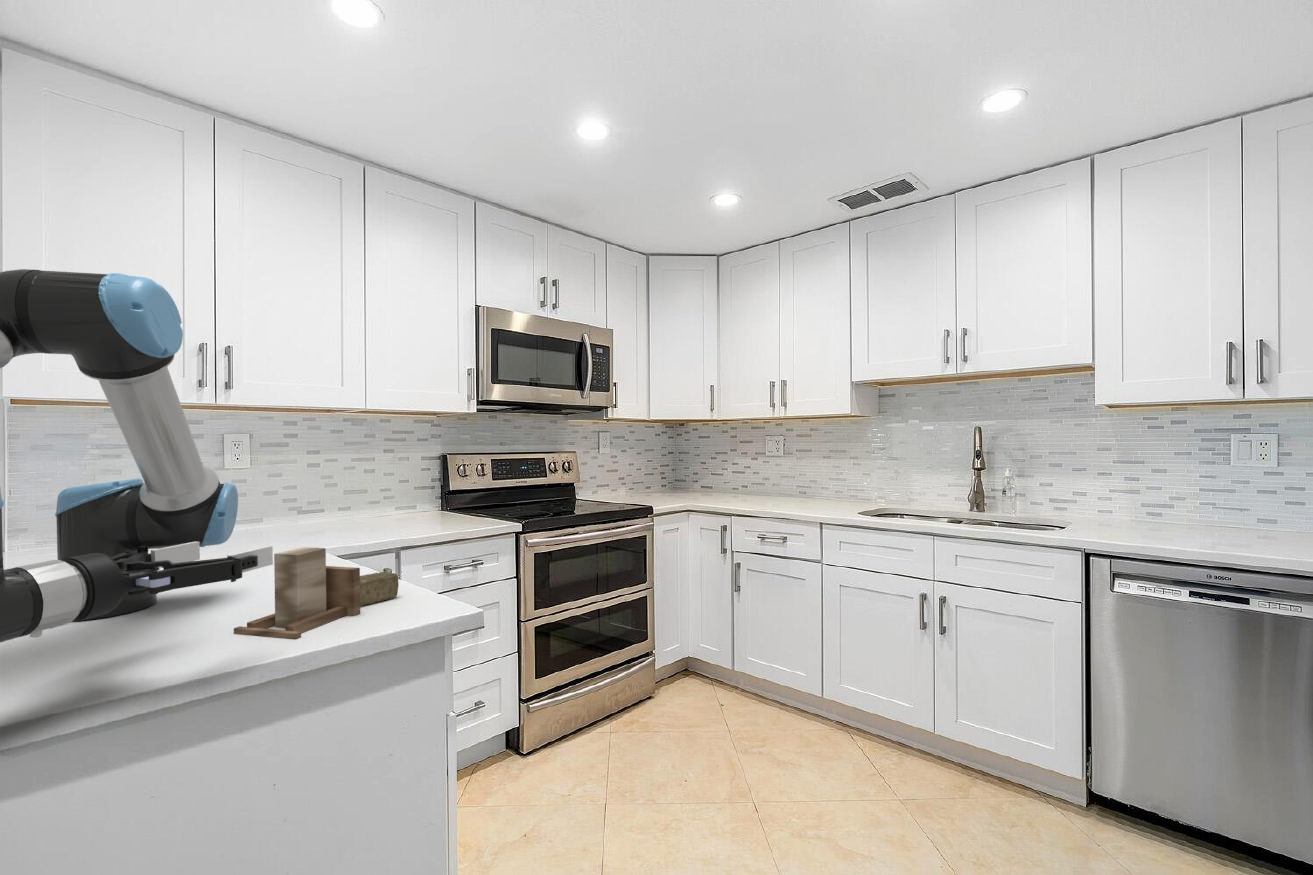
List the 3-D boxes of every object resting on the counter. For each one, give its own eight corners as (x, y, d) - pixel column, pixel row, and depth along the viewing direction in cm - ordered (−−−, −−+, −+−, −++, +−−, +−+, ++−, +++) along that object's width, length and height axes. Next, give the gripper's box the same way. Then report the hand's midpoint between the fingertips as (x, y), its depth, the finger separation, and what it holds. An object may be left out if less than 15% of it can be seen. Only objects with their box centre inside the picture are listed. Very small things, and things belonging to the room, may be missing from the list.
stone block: (401, 598, 118) (400, 572, 118) (342, 613, 109) (341, 585, 109) (383, 594, 121) (382, 568, 121) (324, 608, 112) (324, 581, 112)
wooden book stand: (233, 633, 97) (233, 582, 97) (303, 609, 111) (303, 564, 111) (295, 639, 94) (295, 586, 94) (360, 613, 108) (359, 567, 108)
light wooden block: (275, 627, 101) (274, 553, 100) (305, 616, 106) (304, 547, 106) (297, 629, 99) (296, 554, 99) (326, 618, 105) (325, 548, 105)
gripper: (-10, 615, 74) (169, 572, 95) (148, 632, 68) (303, 583, 89) (-12, 553, 74) (168, 524, 95) (146, 565, 68) (302, 531, 88)
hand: (233, 552), depth 92 cm, fingers open, 13 cm apart
